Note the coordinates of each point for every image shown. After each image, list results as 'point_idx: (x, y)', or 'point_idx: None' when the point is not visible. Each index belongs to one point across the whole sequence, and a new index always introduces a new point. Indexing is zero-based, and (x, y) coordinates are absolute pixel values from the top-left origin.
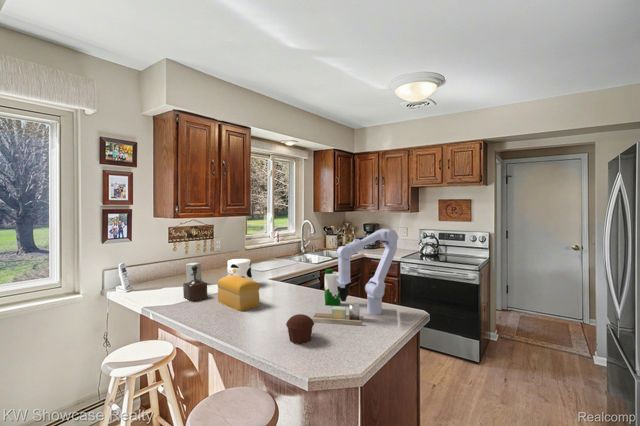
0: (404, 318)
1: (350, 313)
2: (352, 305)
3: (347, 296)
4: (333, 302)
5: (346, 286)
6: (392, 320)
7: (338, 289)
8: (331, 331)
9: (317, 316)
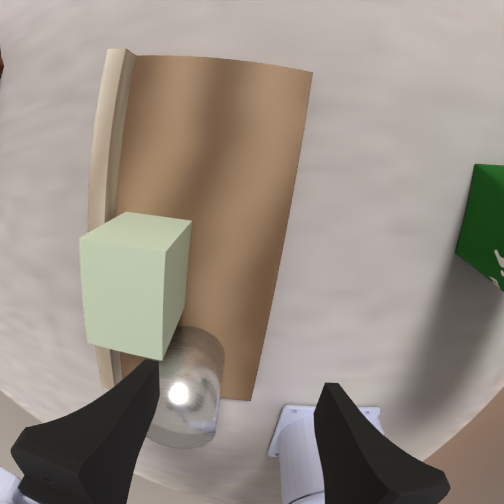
0: (262, 494)
1: (153, 360)
2: None
3: (315, 416)
4: (481, 229)
5: (337, 501)
6: (237, 471)
7: (32, 433)
8: (41, 212)
9: (229, 90)
